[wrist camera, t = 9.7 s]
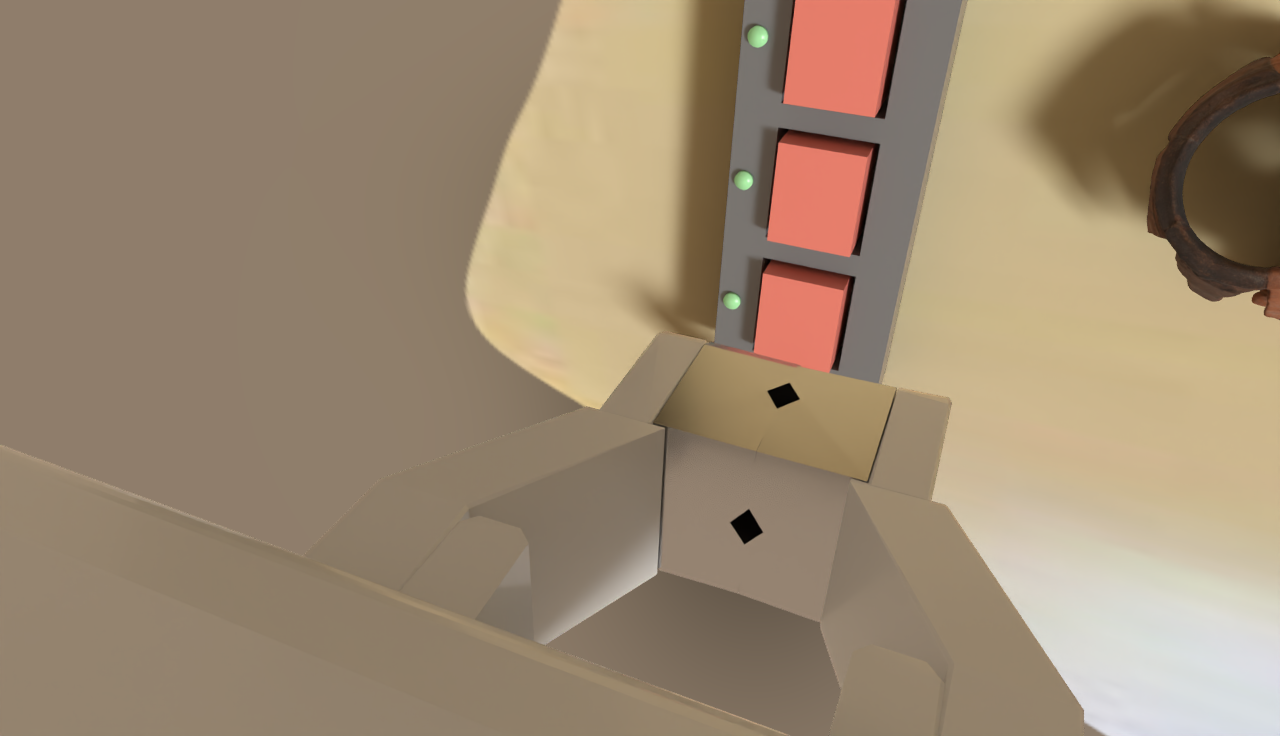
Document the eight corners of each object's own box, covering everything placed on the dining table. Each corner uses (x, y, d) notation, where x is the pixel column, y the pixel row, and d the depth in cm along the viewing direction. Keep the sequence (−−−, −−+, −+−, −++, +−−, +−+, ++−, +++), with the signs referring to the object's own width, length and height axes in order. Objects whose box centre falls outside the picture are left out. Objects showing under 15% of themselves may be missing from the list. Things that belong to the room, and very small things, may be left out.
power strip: (785, -209, 33) (761, -206, 31) (1011, -198, 31) (1004, -194, 29) (730, 336, 47) (711, 368, 45) (884, 373, 45) (872, 409, 42)
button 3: (780, 245, 42) (763, 273, 40) (857, 261, 41) (843, 290, 39) (770, 325, 45) (753, 355, 42) (842, 341, 44) (828, 374, 41)
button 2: (797, 119, 39) (778, 142, 36) (880, 133, 38) (867, 157, 35) (785, 213, 41) (767, 240, 39) (863, 228, 40) (849, 257, 38)
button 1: (816, -30, 35) (797, -16, 33) (909, -20, 34) (896, -4, 32) (801, 82, 38) (783, 103, 36) (888, 95, 37) (874, 117, 34)
